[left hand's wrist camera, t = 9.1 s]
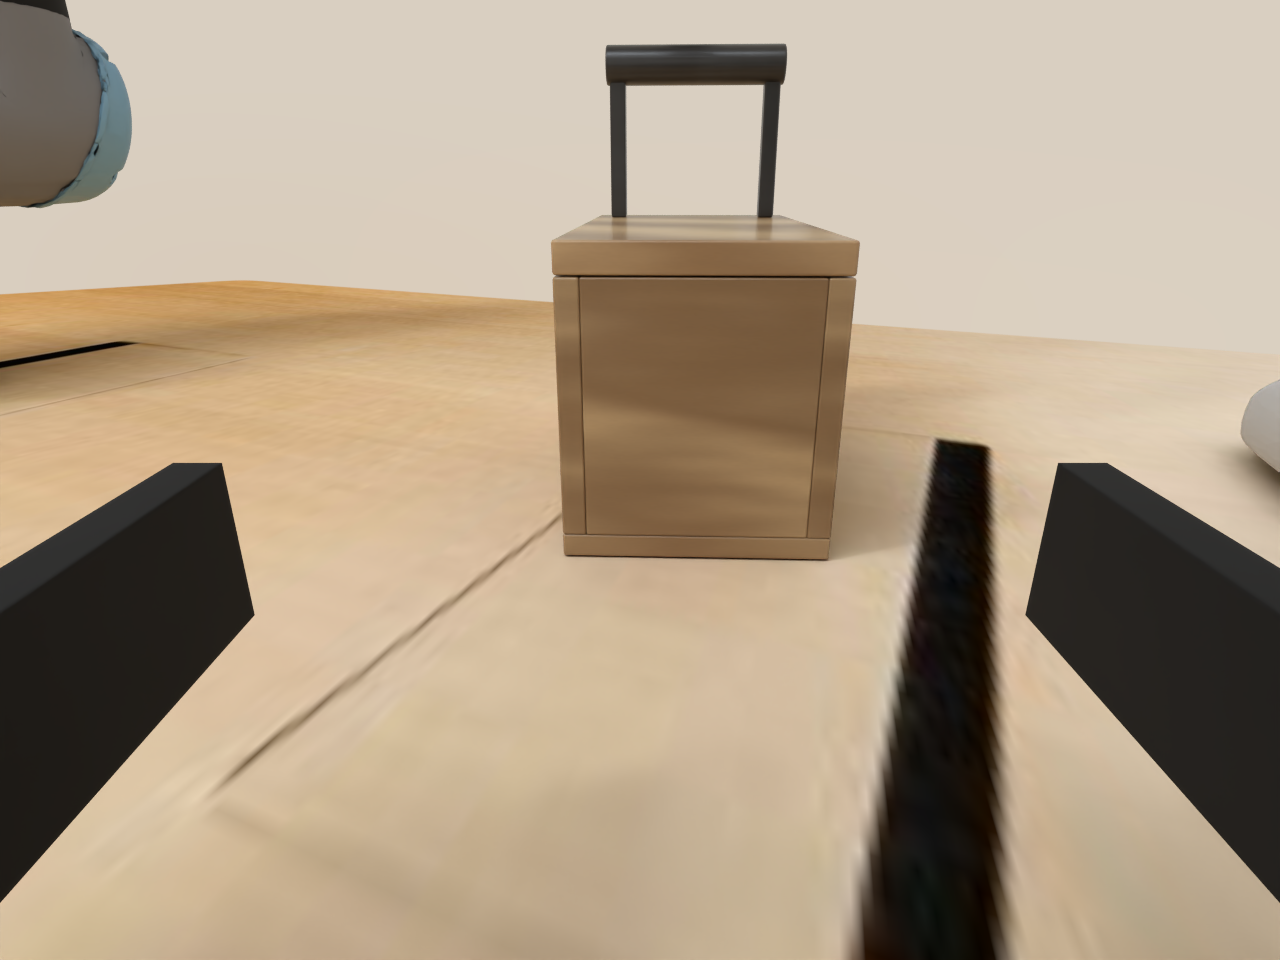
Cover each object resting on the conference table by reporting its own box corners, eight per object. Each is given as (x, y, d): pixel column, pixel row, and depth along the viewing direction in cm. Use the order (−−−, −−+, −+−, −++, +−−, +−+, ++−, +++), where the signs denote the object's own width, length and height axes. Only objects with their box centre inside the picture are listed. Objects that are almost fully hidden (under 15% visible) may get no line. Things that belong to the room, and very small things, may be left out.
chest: (603, 416, 42) (600, 238, 39) (769, 418, 42) (781, 238, 39) (563, 555, 27) (551, 277, 23) (828, 560, 26) (857, 278, 23)
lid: (600, 236, 39) (597, 53, 36) (780, 236, 39) (791, 51, 36) (552, 275, 23) (538, -49, 20) (857, 276, 23) (890, -54, 20)
